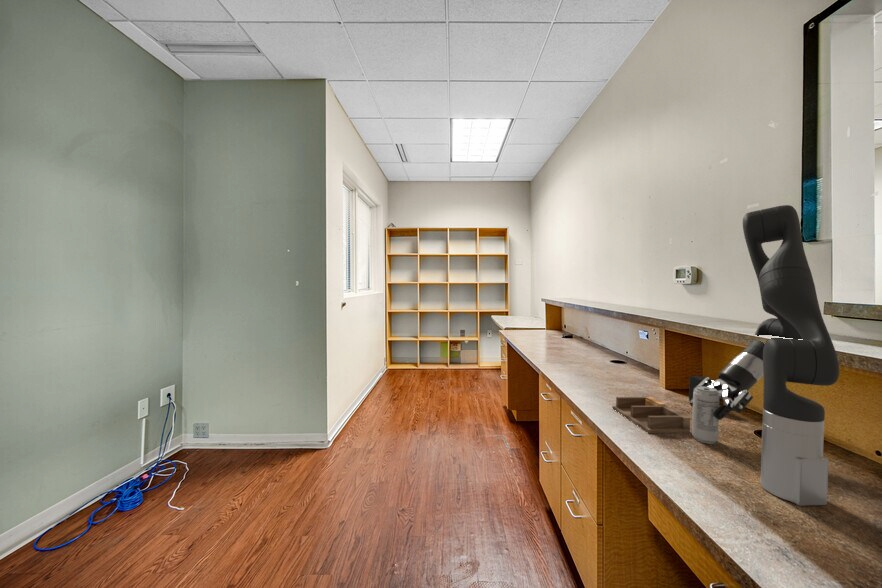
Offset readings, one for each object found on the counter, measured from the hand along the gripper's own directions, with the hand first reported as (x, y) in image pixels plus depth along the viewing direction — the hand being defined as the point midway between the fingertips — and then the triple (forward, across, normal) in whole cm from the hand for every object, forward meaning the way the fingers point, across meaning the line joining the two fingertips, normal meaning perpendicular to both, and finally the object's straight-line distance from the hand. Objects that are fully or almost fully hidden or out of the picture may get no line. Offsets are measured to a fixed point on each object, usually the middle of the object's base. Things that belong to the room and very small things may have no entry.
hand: (703, 411), depth 99 cm
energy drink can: (+6, 0, +6) cm, 9 cm away
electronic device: (-10, -27, +22) cm, 36 cm away
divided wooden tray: (+10, -15, +1) cm, 18 cm away
